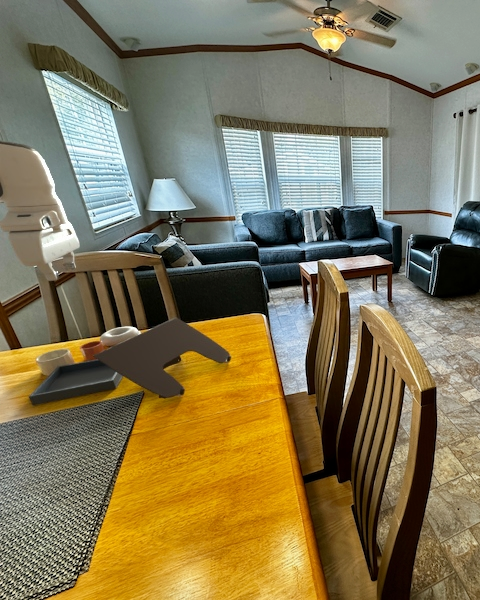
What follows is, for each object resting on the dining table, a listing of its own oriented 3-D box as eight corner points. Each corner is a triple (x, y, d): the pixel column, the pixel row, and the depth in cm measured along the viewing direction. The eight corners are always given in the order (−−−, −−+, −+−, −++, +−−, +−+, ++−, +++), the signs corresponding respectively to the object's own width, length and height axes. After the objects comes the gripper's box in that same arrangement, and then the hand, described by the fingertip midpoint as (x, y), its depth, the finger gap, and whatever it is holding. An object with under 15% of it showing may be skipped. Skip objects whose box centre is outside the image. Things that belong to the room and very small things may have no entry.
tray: (32, 405, 78) (28, 396, 77) (61, 374, 90) (57, 366, 89) (116, 388, 84) (112, 380, 83) (132, 361, 96) (129, 353, 96)
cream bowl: (36, 377, 89) (29, 363, 87) (49, 365, 95) (43, 351, 93) (69, 372, 91) (62, 358, 90) (79, 359, 97) (73, 346, 96)
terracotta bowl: (81, 362, 96) (76, 350, 94) (88, 354, 100) (83, 342, 99) (102, 358, 98) (98, 347, 96) (108, 350, 102) (104, 339, 101)
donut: (143, 331, 114) (108, 336, 111) (141, 322, 113) (105, 327, 109) (135, 344, 106) (96, 350, 102) (132, 335, 104) (92, 340, 101)
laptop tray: (166, 423, 81) (170, 399, 77) (91, 375, 82) (91, 349, 78) (234, 371, 101) (240, 350, 97) (173, 334, 103) (176, 311, 98)
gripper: (44, 213, 84) (65, 265, 89) (-7, 224, 66) (22, 288, 72) (76, 212, 86) (94, 263, 91) (35, 222, 69) (60, 284, 74)
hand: (62, 274), depth 81 cm, fingers open, 8 cm apart
